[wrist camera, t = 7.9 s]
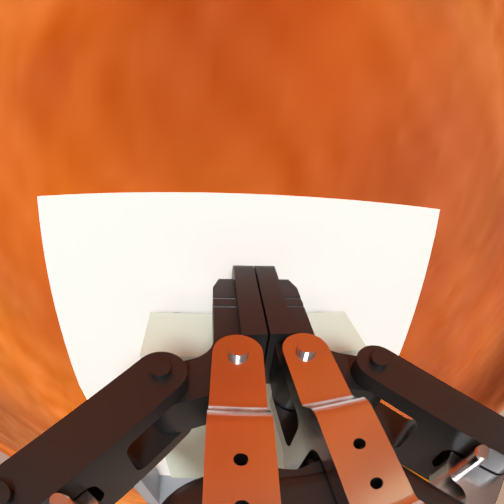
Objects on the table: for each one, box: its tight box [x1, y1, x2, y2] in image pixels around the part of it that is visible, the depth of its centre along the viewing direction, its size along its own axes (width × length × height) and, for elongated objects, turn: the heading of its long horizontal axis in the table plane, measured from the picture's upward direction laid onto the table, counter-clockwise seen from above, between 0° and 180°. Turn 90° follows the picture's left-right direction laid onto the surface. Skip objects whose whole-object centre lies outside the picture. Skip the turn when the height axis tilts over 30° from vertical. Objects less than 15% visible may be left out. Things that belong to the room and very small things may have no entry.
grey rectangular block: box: [140, 311, 366, 478], centre depth 14 cm, size 8×10×4 cm
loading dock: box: [37, 192, 440, 504], centre depth 16 cm, size 18×25×6 cm
